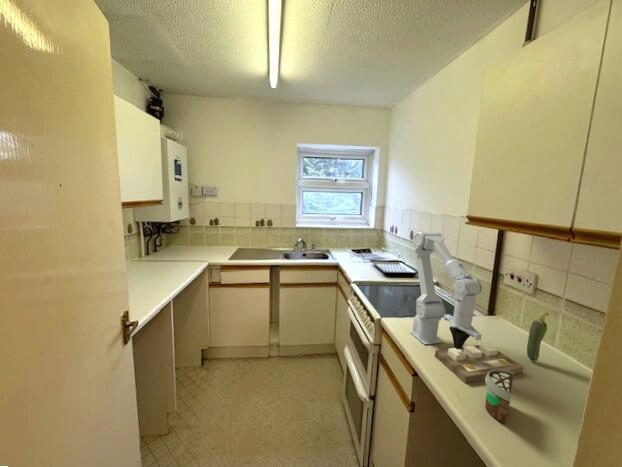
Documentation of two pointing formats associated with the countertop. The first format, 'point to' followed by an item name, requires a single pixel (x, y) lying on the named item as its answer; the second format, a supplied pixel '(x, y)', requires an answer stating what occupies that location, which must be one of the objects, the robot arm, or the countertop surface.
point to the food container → (498, 393)
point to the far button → (488, 350)
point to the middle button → (472, 352)
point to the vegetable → (536, 337)
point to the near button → (456, 354)
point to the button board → (477, 365)
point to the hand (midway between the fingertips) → (457, 348)
